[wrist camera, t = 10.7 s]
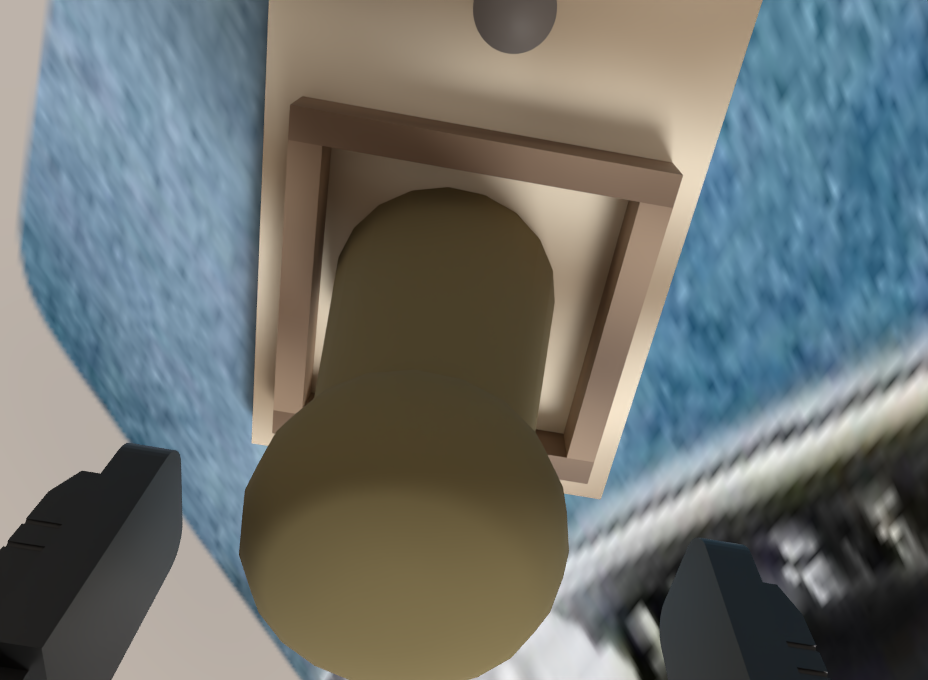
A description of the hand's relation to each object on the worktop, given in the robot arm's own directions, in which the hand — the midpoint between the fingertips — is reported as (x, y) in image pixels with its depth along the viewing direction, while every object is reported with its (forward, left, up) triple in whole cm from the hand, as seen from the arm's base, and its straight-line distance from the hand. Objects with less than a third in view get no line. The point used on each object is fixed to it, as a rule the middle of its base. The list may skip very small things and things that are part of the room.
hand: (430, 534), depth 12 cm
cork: (0, 0, -10) cm, 10 cm away
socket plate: (-2, 0, -11) cm, 11 cm away
